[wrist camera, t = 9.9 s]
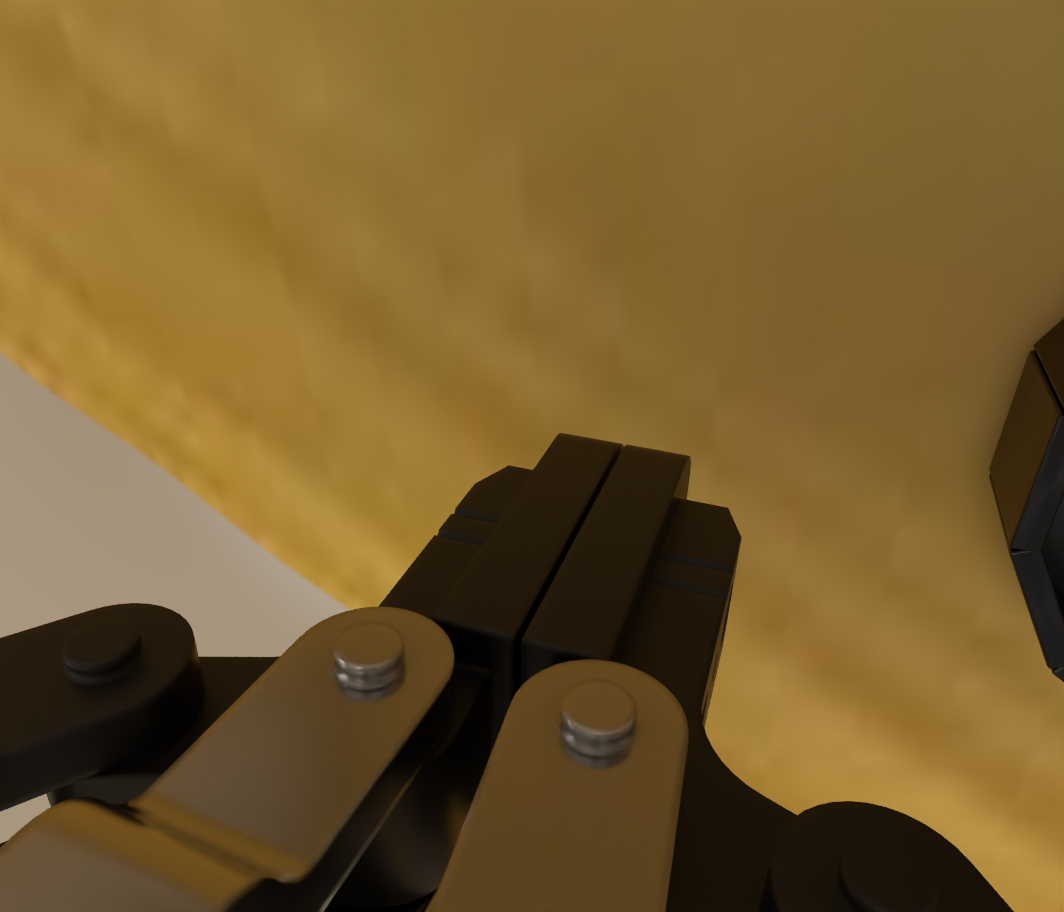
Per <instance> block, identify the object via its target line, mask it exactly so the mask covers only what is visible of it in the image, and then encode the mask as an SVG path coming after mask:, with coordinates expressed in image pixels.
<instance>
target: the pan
mask: <svg viewBox="0 0 1064 912" xmlns="http://www.w3.org/2000/svg"><path fill="white" fill-rule="evenodd" d="M1034 348H1035V350H1036V351H1031V352H1030V353H1029V355H1028V358H1027V361H1026V364H1025V367H1024V370H1023V372H1022V375H1021V378H1020V381H1019V384H1018V387H1017V390H1016V393H1015V396H1014V399H1013V402H1012V404H1011V407H1010V410H1009V413H1008V416H1007V419H1006V422H1005V425H1004V428H1003V431H1002V434H1001V437H1000V439H999V442H998V445H997V448H996V451H995V454H994V457H993V460H992V463H991V466H990V473H991V474H990V481H991V485H992V489H993V493H994V497H995V500H996V504H997V508H998V512H999V516H1000V520H1001V523H1002V527H1003V531H1004V535H1005V539H1006V543H1007V546H1008V550H1009V554H1010V557H1011V560H1012V563H1013V566H1014V569H1015V572H1016V575H1017V578H1018V581H1019V584H1020V587H1021V590H1022V593H1023V596H1024V599H1025V602H1026V605H1027V608H1028V611H1029V614H1030V617H1031V620H1032V623H1033V626H1034V629H1035V632H1036V634H1037V637H1038V640H1039V643H1040V646H1041V649H1042V652H1043V655H1044V658H1045V661H1046V664H1047V666H1048V667H1049V668H1050V669H1051V670H1052V673H1053V674H1054V675H1055V676H1057V677H1058V678H1059V679H1061V680H1062V681H1063V682H1064V319H1063V320H1062V321H1061V322H1060V323H1058V324H1057V325H1056V326H1055V327H1054V328H1053V329H1052V330H1051V331H1049V332H1048V333H1047V334H1046V335H1045V336H1044V337H1043V338H1042V339H1040V340H1039V341H1038V342H1037V343H1036V344H1035V345H1034Z"/></svg>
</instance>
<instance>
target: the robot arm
mask: <svg viewBox="0 0 1064 912" xmlns="http://www.w3.org/2000/svg"><path fill="white" fill-rule="evenodd" d="M690 467H691V458H690V456H687V455H682V454H676V453H671V452H665V451H660V450H654V449H649V448H643V447H638V446H632V445H626V446H625V447H624V446H623V445H622V444H620V443H614V442H609V441H603V440H598V439H592V438H587V437H581V436H575V435H570V434H564V433H560V434H558V435H557V437H556V438H555V439H554V441H553V442H552V444H551V445H550V447H549V448H548V449H547V451H546V452H545V454H544V455H543V457H542V458H541V460H540V461H539V463H538V464H537V465H536V467H535V468H534V470H529V469H524V468H519V467H514V466H507V467H505V468H503V469H501V470H500V471H498V472H496V473H494V474H492V475H490V476H488V477H487V478H485V479H483V480H481V481H479V482H477V483H476V484H474V486H473V487H472V488H471V490H470V491H469V492H468V493H467V495H466V496H465V497H464V498H463V500H462V501H461V502H460V504H459V505H458V506H457V507H456V509H455V513H454V514H451V515H450V516H449V518H448V519H447V520H446V521H445V523H444V524H443V525H442V526H441V528H440V529H439V533H438V536H436V535H434V537H433V538H432V539H431V540H430V542H429V543H428V544H427V546H426V547H425V548H424V549H423V551H422V552H421V553H420V554H419V556H418V557H417V558H416V560H415V561H414V562H413V563H412V565H411V566H410V567H409V568H408V570H407V571H406V572H405V574H404V575H403V576H402V577H401V579H400V580H399V581H398V582H397V584H396V585H395V586H394V588H393V589H392V590H391V591H390V593H389V594H388V595H387V596H386V598H385V599H384V600H383V602H382V603H381V604H380V605H379V607H367V608H359V609H354V610H350V611H346V612H343V613H340V614H337V615H334V616H331V617H329V618H327V619H325V620H323V621H321V622H319V623H318V624H316V625H315V626H313V627H311V628H310V629H309V630H308V631H306V632H305V633H304V634H303V635H302V636H301V637H299V639H297V641H295V643H294V644H292V646H290V647H289V648H288V649H287V650H286V652H285V653H284V654H283V655H281V656H280V657H198V653H197V648H196V644H195V638H194V635H193V631H192V628H191V626H190V625H189V623H188V622H187V620H186V619H184V618H183V617H182V616H181V615H180V614H178V613H176V612H174V611H173V610H170V609H168V608H165V607H162V606H157V605H152V604H140V603H130V604H118V605H111V606H106V607H101V608H98V609H94V610H90V611H87V612H84V613H80V614H77V615H74V616H70V617H67V618H64V619H61V620H57V621H54V622H51V623H48V624H44V625H41V626H38V627H35V628H31V629H28V630H25V631H22V632H19V633H15V634H12V635H9V636H6V637H2V638H0V811H3V810H5V809H8V808H10V807H13V806H15V805H18V804H20V803H23V802H26V801H28V800H31V799H33V798H36V797H38V796H41V795H44V794H47V797H48V800H49V802H50V805H51V808H49V809H47V810H46V811H44V812H43V813H41V814H40V815H38V816H36V817H35V818H34V819H32V820H31V821H30V822H29V823H28V824H26V825H25V826H24V827H23V828H21V830H19V831H18V832H17V833H16V834H15V835H14V836H12V837H11V839H9V840H8V841H6V842H3V843H1V844H0V912H1014V911H1013V910H1012V909H1011V908H1010V907H1009V906H1008V904H1007V903H1006V902H1005V901H1004V900H1003V899H1002V898H1001V896H1000V895H999V894H998V893H997V892H996V891H995V889H994V888H993V887H992V886H991V885H990V884H989V883H988V881H987V880H986V879H985V878H984V877H983V876H982V874H981V873H980V872H979V871H978V870H977V869H976V868H975V866H974V865H973V864H972V863H971V862H970V861H969V860H968V859H967V858H966V857H965V856H964V855H963V854H962V853H961V852H960V851H959V850H958V849H957V848H956V847H955V846H954V845H953V844H952V843H950V842H949V841H948V840H947V839H945V838H944V837H943V836H942V835H940V834H939V833H937V832H936V831H934V830H933V829H931V828H930V827H928V826H927V825H925V824H923V823H922V822H920V821H918V820H916V819H914V818H912V817H910V816H908V815H906V814H903V813H901V812H898V811H895V810H892V809H890V808H887V807H883V806H879V805H874V804H870V803H863V802H853V801H844V802H831V803H826V804H821V805H817V806H815V807H812V808H810V809H807V810H805V811H803V812H802V813H800V814H799V815H796V814H794V813H792V812H790V811H789V810H787V809H785V808H784V807H782V806H780V805H778V804H777V803H775V802H773V801H772V800H770V799H768V798H766V797H765V796H763V795H761V794H760V793H758V792H757V791H755V790H754V789H752V788H751V787H749V786H748V785H746V784H745V783H744V782H743V781H742V780H740V779H739V778H738V777H737V776H736V775H734V774H733V773H732V772H731V771H730V770H729V768H728V767H727V766H726V765H725V764H724V763H723V762H722V761H721V759H720V758H719V757H718V755H717V754H716V752H715V751H714V749H713V748H712V746H711V744H710V742H709V740H708V738H707V736H706V732H705V729H704V727H705V722H706V718H707V713H708V708H709V705H710V700H711V696H712V691H713V687H714V682H715V678H716V674H717V669H718V665H719V660H720V656H721V652H722V647H723V642H724V636H725V630H726V624H727V618H728V613H729V607H730V601H731V595H732V589H733V583H734V578H735V572H736V566H737V560H738V554H739V549H740V543H741V536H740V533H739V531H738V529H737V527H736V524H735V522H734V520H733V518H732V516H731V513H730V511H729V509H728V508H726V507H721V506H716V505H710V504H705V503H700V502H695V501H690V500H687V492H688V485H689V477H690Z"/></svg>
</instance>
